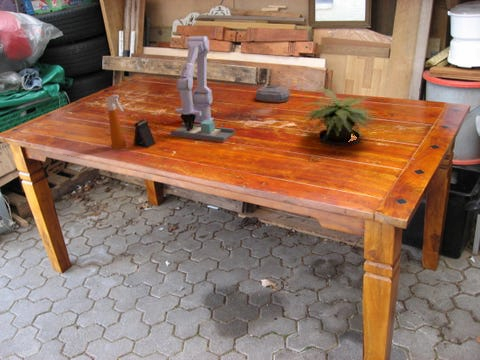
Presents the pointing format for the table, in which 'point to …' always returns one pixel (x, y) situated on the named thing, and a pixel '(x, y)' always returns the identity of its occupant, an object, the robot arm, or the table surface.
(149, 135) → the phone stand
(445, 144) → the table surface
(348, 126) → the fern plant
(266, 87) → the soft grey pack
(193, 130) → the sliding plate with handle
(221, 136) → the channel
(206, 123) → the block
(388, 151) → the table surface
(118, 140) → the spray bottle
